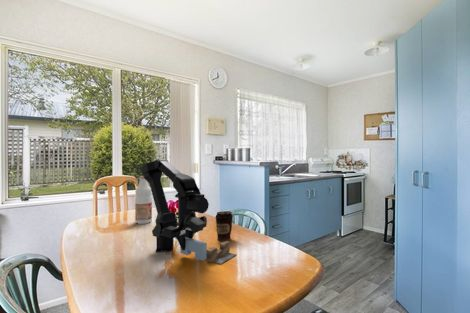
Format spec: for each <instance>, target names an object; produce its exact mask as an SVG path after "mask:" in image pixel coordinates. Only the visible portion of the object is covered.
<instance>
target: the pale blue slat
mask: <svg viewBox="0 0 470 313" xmlns="http://www.w3.org/2000/svg"><path fill="white" fill-rule="evenodd" d="M207 245H208V243H207V242H205V241H201V240H199V239H195V238H188V237H186V238H185V250H182V248H181V246H180V245H179V246H180V247H179V248H180V250H179V253H180V254H183V255H185V256H190V255H191V254H192V252H193V253H194V258H195V259H197V260H200V261H202V262H203V261H206V260H205V259H207V250H208V248H207V247H208V246H207Z"/></svg>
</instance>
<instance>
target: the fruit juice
mask: <svg viewBox="0 0 470 313" xmlns="http://www.w3.org/2000/svg"><path fill="white" fill-rule="evenodd" d="M138 178H139V179H138V180H139V182H138V184H137V187H136V188H135V196H136V197H135V200H134V201H135V202H134V204H135V205H134V209H135V210H134V214H135V216H134V219H135V220H134V221H135V224H136V223H138V224H137V225H145V224H144V223H148V224H150V223H152V222H153V213H152V212H153V210H152V208H153V207H152V205H153V204H152V203H153V202H152V201H153V200H152V198H153V197H152V191H151V187H150V184H149V182H148V181H146V180H145V179H144V177H143V175H141V176H139V177H138ZM149 222H150V223H149Z"/></svg>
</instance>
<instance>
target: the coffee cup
mask: <svg viewBox="0 0 470 313" xmlns="http://www.w3.org/2000/svg"><path fill="white" fill-rule="evenodd" d="M233 217H234V215H233V213H232V211H228V210H224V211H223V210H222V211H217V212H216V215H215V225H216V226H215V227H216V235H217V241H221V242H225V241H228V242H230V241H231V239H232V238H231V233H232V228H233Z"/></svg>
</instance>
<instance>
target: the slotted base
mask: <svg viewBox="0 0 470 313" xmlns="http://www.w3.org/2000/svg"><path fill="white" fill-rule="evenodd" d="M230 250H231V249H230V241H222V242H221V243H219V249H218V247H215V246H212V247H210V248H207V259H205V260H204V261H207V262H209V263H214V264H218V265H222V264H224V263H227V262H228V261H230V260H231V259H233V258H235V257H236V256H237V254H236V253H231V252H230Z"/></svg>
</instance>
